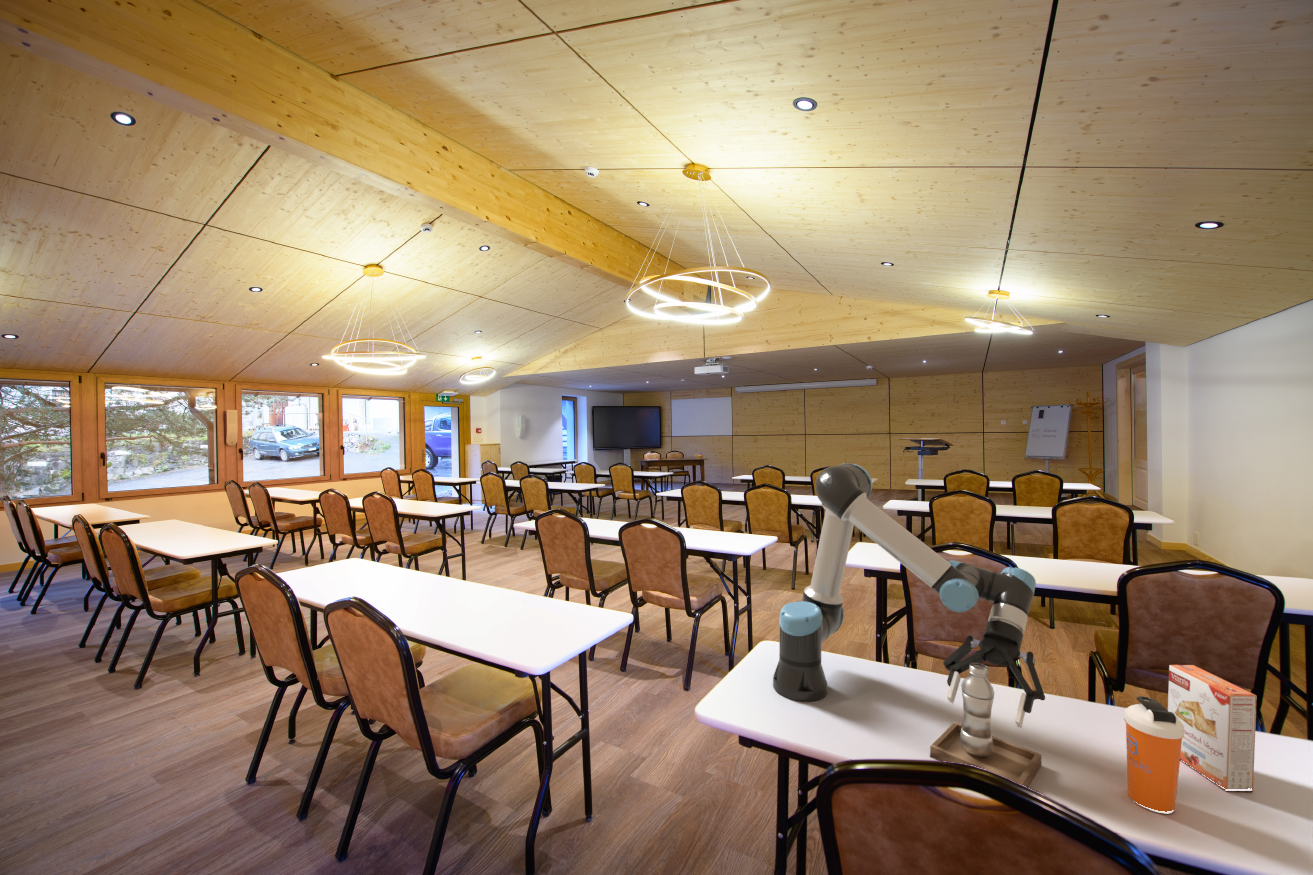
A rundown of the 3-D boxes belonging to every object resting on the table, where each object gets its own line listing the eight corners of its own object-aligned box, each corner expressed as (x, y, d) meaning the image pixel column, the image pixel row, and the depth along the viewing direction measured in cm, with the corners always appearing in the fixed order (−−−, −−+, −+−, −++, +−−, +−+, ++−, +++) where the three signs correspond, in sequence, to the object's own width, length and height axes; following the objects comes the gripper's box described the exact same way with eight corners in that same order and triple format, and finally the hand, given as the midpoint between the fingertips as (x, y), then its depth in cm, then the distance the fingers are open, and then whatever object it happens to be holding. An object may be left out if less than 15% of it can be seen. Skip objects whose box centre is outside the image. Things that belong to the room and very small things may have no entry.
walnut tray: (930, 756, 126) (930, 745, 125) (954, 731, 136) (954, 721, 136) (1021, 796, 112) (1022, 784, 112) (1041, 765, 122) (1041, 754, 122)
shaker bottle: (1156, 788, 115) (1160, 694, 114) (1194, 819, 106) (1198, 718, 105) (1110, 785, 116) (1113, 692, 115) (1144, 816, 107) (1147, 715, 106)
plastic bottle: (981, 764, 121) (984, 675, 120) (952, 747, 127) (955, 662, 126) (999, 756, 124) (1002, 669, 123) (970, 740, 130) (973, 657, 129)
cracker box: (1164, 751, 128) (1167, 663, 127) (1190, 752, 127) (1194, 663, 127) (1224, 792, 114) (1228, 693, 113) (1254, 793, 113) (1258, 694, 113)
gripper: (1071, 651, 124) (1053, 743, 115) (953, 621, 143) (929, 698, 133) (1066, 635, 120) (1047, 728, 111) (946, 606, 139) (920, 683, 129)
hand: (982, 711), depth 122 cm, fingers open, 13 cm apart
